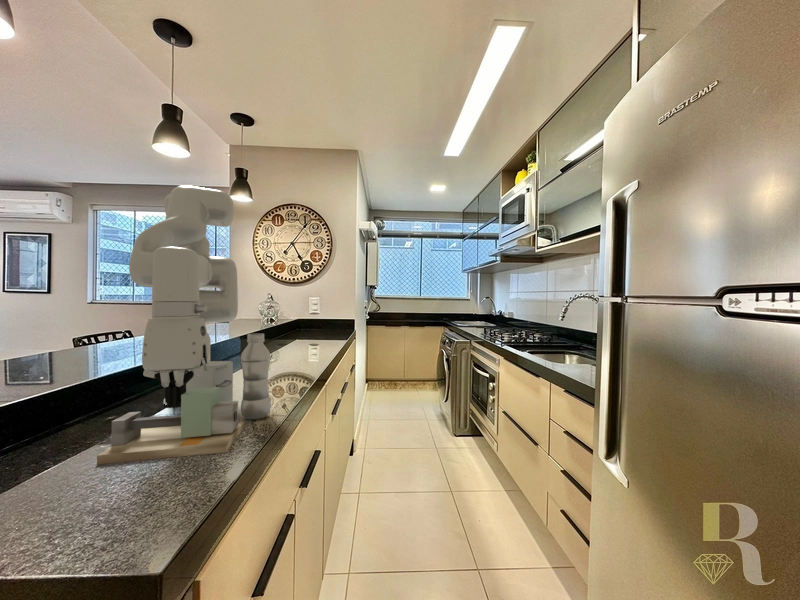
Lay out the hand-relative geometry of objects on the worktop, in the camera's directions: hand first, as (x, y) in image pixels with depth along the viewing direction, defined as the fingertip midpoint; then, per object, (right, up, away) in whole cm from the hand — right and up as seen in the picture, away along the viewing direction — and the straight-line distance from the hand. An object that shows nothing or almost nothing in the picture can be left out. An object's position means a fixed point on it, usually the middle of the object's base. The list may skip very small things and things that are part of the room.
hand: (175, 405), depth 61 cm
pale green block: (+4, -5, +1) cm, 7 cm away
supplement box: (-4, -8, +17) cm, 20 cm away
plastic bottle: (+9, -8, +14) cm, 19 cm away
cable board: (+1, -7, 0) cm, 7 cm away
